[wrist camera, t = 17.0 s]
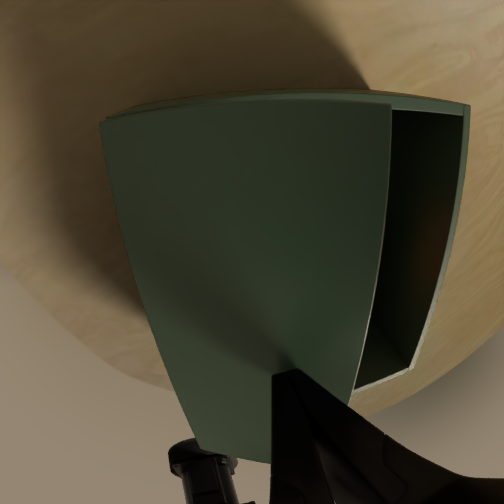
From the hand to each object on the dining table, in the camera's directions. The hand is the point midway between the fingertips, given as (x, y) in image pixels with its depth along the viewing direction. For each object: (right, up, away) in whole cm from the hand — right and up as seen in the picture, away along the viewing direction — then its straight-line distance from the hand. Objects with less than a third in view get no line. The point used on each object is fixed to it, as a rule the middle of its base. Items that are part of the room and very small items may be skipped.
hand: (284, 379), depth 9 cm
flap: (-1, 0, +1) cm, 1 cm away
